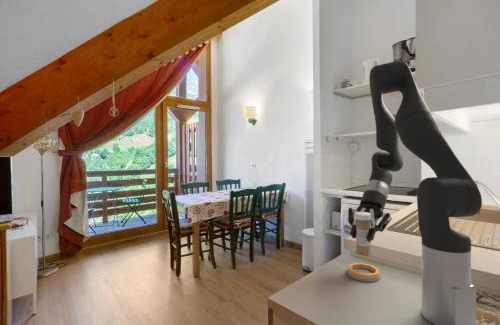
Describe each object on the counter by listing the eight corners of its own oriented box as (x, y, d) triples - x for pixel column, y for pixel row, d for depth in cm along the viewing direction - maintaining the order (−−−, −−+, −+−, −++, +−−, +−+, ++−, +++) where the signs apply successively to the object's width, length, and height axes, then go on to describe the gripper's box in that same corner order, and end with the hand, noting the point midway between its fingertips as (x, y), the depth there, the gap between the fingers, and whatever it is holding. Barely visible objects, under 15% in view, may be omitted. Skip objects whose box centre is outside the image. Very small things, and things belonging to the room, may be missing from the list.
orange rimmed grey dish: (388, 279, 81) (388, 273, 81) (360, 284, 79) (360, 277, 79) (366, 266, 91) (366, 261, 91) (340, 270, 89) (340, 264, 89)
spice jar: (360, 250, 88) (359, 210, 88) (373, 254, 85) (373, 212, 84) (353, 254, 85) (352, 212, 85) (366, 258, 82) (366, 215, 81)
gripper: (351, 187, 95) (335, 228, 87) (394, 191, 85) (381, 237, 76) (358, 200, 99) (343, 240, 91) (400, 204, 88) (387, 250, 80)
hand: (360, 238), depth 84 cm, fingers closed on spice jar, 4 cm apart
